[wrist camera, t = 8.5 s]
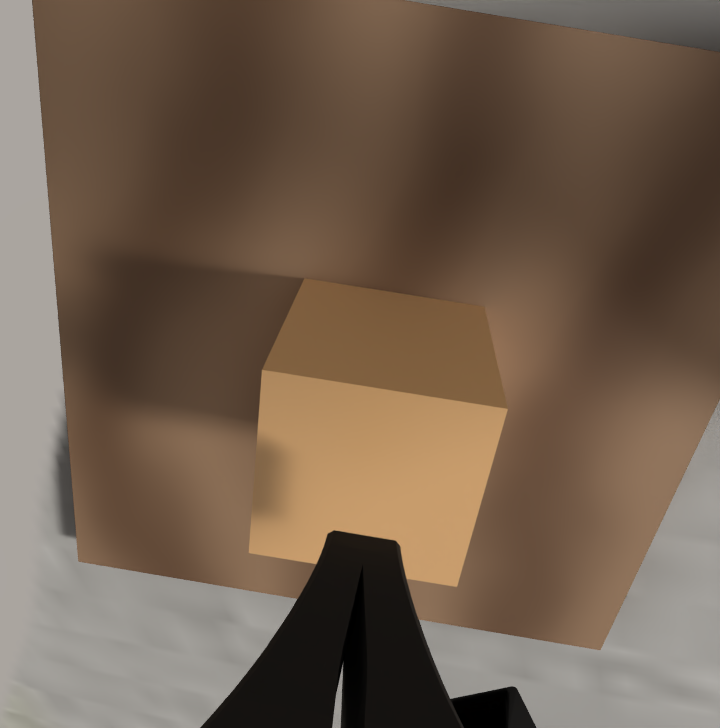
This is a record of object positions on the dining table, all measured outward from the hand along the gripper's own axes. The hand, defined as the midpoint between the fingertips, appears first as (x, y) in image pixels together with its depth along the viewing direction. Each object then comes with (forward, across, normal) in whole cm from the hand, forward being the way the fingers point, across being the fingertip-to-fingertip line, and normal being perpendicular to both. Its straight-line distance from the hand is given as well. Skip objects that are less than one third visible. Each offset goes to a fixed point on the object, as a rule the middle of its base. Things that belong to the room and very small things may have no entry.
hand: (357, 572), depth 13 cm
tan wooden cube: (+8, 0, 0) cm, 8 cm away
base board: (+9, 0, 0) cm, 9 cm away
